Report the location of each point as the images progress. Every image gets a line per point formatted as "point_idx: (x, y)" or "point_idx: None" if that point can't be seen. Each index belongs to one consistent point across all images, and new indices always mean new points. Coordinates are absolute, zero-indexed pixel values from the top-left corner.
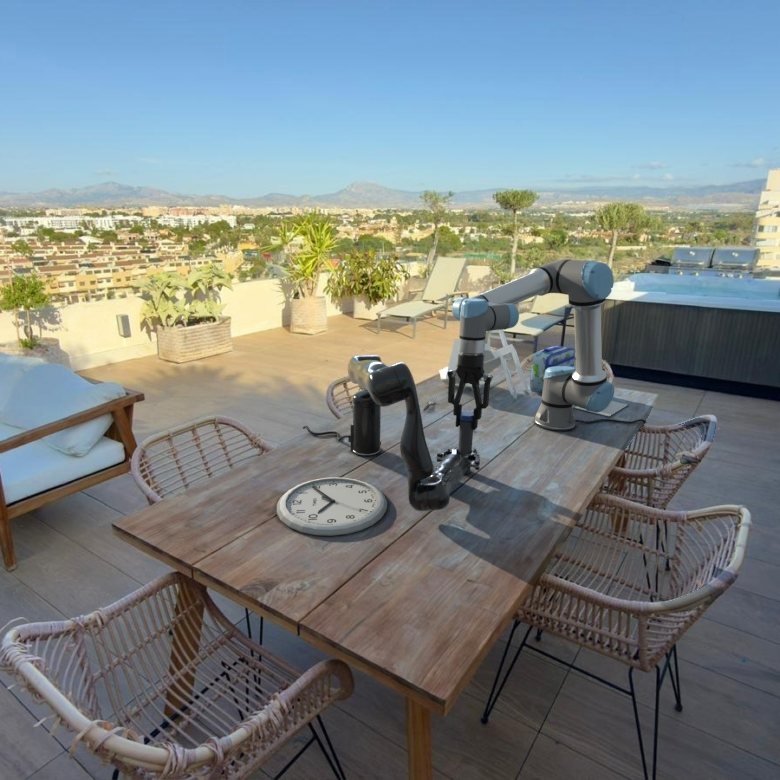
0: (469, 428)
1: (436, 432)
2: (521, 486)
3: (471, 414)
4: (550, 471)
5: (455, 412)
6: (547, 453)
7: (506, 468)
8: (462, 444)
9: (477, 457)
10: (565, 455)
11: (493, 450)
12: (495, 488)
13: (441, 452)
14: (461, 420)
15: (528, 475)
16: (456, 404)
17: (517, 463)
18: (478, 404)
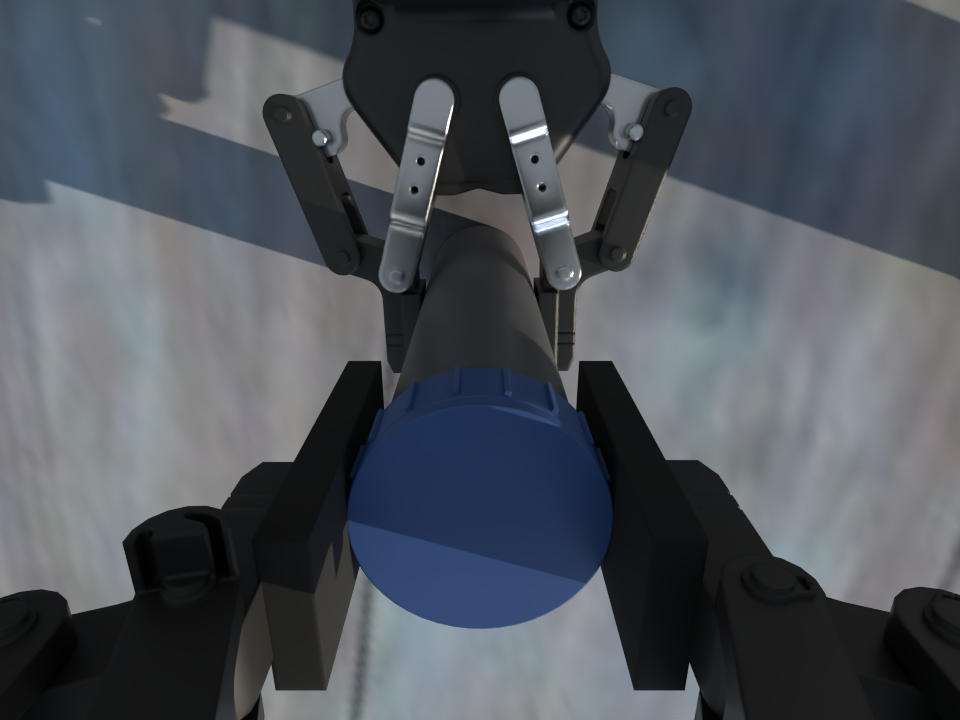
0: (416, 359)
1: None
2: (76, 241)
3: (400, 519)
4: (30, 508)
5: (688, 488)
6: None
7: (258, 435)
8: (488, 277)
9: (321, 205)
10: None
11: (412, 614)
12: (202, 127)
13: (657, 152)
14: None
15: (109, 405)
16: (737, 583)
17: None
18: (143, 655)
